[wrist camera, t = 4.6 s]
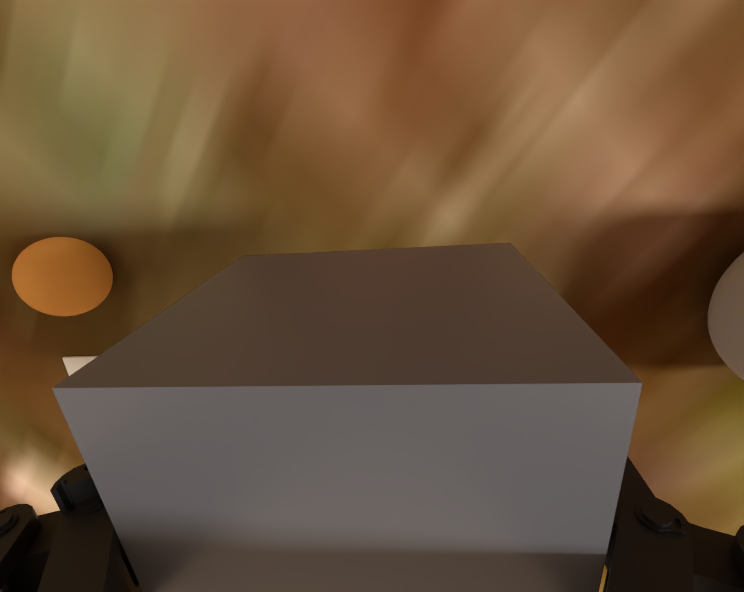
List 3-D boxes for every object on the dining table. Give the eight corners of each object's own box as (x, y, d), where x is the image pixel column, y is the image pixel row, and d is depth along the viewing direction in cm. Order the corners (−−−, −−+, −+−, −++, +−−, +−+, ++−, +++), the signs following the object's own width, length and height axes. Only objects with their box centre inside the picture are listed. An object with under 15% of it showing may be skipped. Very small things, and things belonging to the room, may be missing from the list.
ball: (49, 231, 26) (-28, 249, 22) (117, 227, 26) (53, 244, 21) (74, 300, 28) (8, 330, 23) (138, 297, 28) (84, 328, 23)
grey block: (242, 256, 15) (52, 388, 7) (510, 242, 14) (643, 382, 6) (283, 457, 19) (188, 693, 11) (498, 460, 18) (570, 726, 10)
